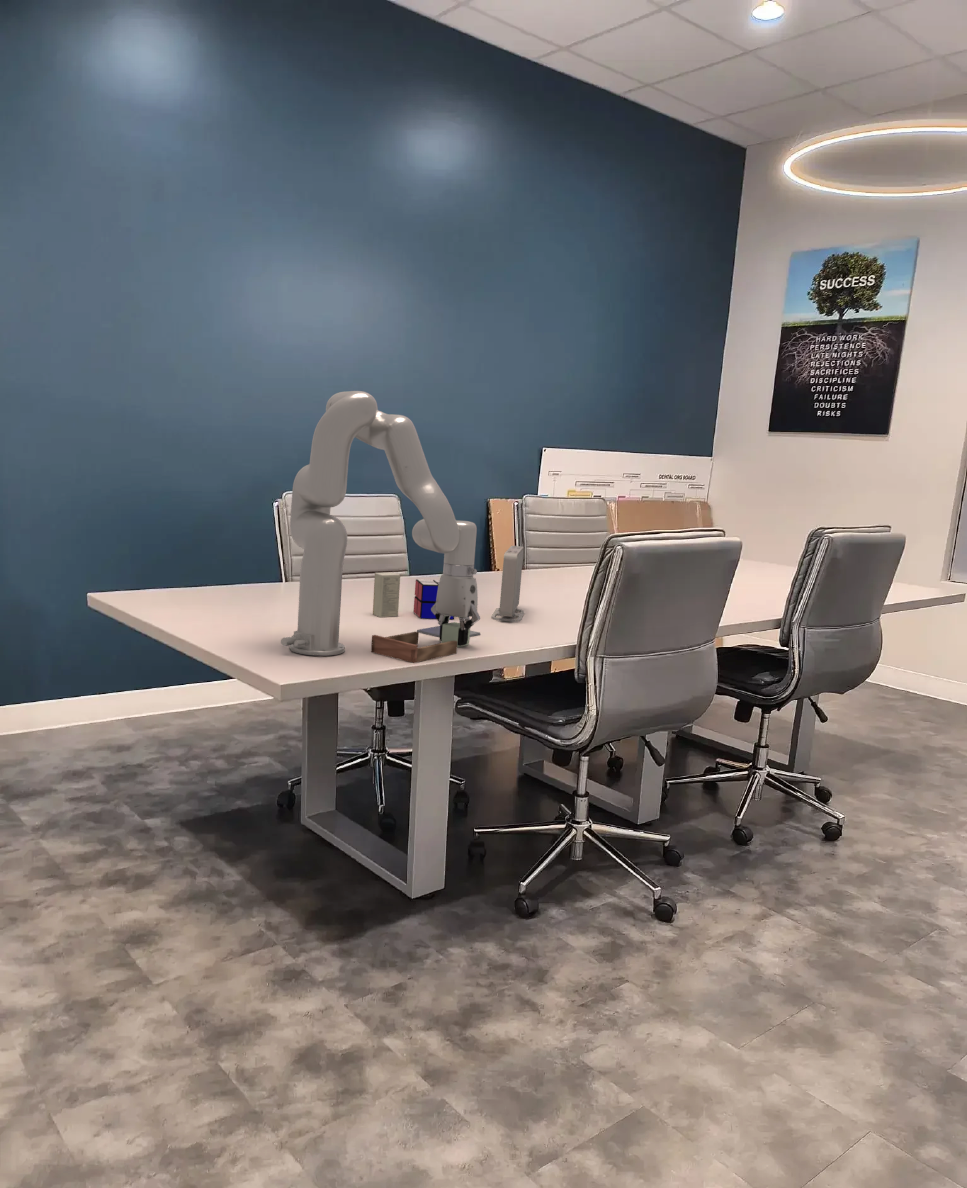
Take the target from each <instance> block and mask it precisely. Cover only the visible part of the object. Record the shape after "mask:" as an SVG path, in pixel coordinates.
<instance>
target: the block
mask: <svg viewBox="0 0 967 1188" xmlns="http://www.w3.org/2000/svg"><path fill="white" fill-rule="evenodd" d="M460 629H461V628H460V622H456V621H454V622H448V623H447V624H443V627H442V641H440V643H444V642H449V641H457V648H459V647H460V648H461V647H465V646H469V645H470V638H471V637H470V630H471V628H470V629H468V641H467V644H466V645H461V646H459V645H458V632H459V630H460Z"/></svg>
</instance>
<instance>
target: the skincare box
mask: <svg viewBox="0 0 967 1188" xmlns="http://www.w3.org/2000/svg"><path fill="white" fill-rule="evenodd" d="M373 581H374V583H373V602H372V603H373V605H372V615H374V616H376V617H378V618H387V617H390V618H391V617H399V606H400V605H399V604H400V588H401V585H400V584H401V574H399V573H396V572H394V571H392V572H391V571H390V572H389V571H388V572H387V571H386V572H374V580H373Z"/></svg>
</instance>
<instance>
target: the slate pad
mask: <svg viewBox="0 0 967 1188" xmlns="http://www.w3.org/2000/svg"><path fill="white" fill-rule="evenodd" d="M416 632H419V634H423V635H428V636H432V637H437V638H440V625H436V626H432V627H427V628H420V629H417V630H416ZM477 636H481V632H479V631H474V630H471V629H470V638H471V637H472V638H473V637H477Z"/></svg>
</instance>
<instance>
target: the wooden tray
mask: <svg viewBox="0 0 967 1188" xmlns="http://www.w3.org/2000/svg"><path fill="white" fill-rule="evenodd" d="M419 634H420V633H419V632H417V631H412V632H407V633H401V634H394V635H390V636H385V637H384V636H382V635H377V634H373V635H371V647H370V652H371V653H374V654H377V655H382V656H385V657H390V658H392V657H393V659H396V660H401V661H405V662H408V663H413V664H415V663H420V662H425V661H429V660H433V659H438V658H442V657H446V656H447V657H448V656H451V655H456V654H457V653H458V652H457V649H458V647H457V641H449V642H444V643H441V642H440V643H435V644H429V645H425V646H420V647H418V645H419V637H420V636H419Z"/></svg>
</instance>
